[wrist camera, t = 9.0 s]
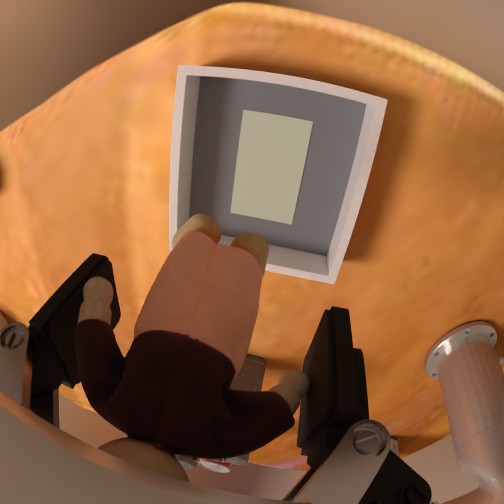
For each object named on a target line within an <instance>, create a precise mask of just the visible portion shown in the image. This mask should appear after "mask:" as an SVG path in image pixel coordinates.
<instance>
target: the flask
mask: <svg viewBox="0 0 504 504" xmlns="http://www.w3.org/2000/svg"><path fill="white" fill-rule="evenodd" d="M265 366H266V362H265V360H264V359H263V358H261V357H258V356H254V355H250V354H246V357H245V361H244V363H243V366H242V368H241V370H240V372H239V374H238V375H237V376H236V377H235V379H234V380H233V381H232V384H231V386H230V389H233V390H245V391H249V392H252V391H260V392H261V389H262V383H263V377H264V372H265ZM175 457H176V459H177V460H178V461H179V462H180V464H181V465H182V467H183V468H187V469H195V468H196V465H197V463H196V462H195V460H197V457H192V456H186V455H175ZM248 458H249V453H247V454H244V455H241V456H237V457H232V458H223V459H206V460H211V461H217V462H228V463H232V464H238V465H244V464H247V463H248ZM200 459H204V458H200Z"/></svg>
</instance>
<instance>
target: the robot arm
mask: <svg viewBox="0 0 504 504" xmlns="http://www.w3.org/2000/svg"><path fill="white" fill-rule="evenodd" d="M93 277H102V278H104V279H106V280H107V281H108V282H110V284H111V285H112V288H113V300H112V302H111V304H110V309H111V313H112V315H111V327H112V328H113V329H114V328H115V326H116V325H117V323H118V322H119V320H120V316H121V312H120V307H119V302H118V297H117V292H116V286H115V281H114V275H113V269H112V263H111V262H110V261H109V259H108V257H106V256H103V255H99V254H95V253H94V254H92V255H90V256H89V257H88V258H87V259H86V260H85V261H84V262H83V263H82V264H81V265H80V266H79V267H78V268H77V270H76V271H75V272H74V273H73V274H72V275H71V276H70V277H69V278H68V279H67V280H66V281H65V282H64V283H63V284H62V285H61V286H60V287H59V288H58V290H57V291H56V292H55V293H54V294H53V295H52V296H51V297H50V298H49V299H48V301H47V302H46V303H45V304H44V305H43V306H42V307H41V308H40V310H39V311H38V312H37V313H36V314H35V315H34V317H33V318H32V319H31V320H30V321H29V323H30V326H29V327H28V328H27V326H26V325H25V324H23V323H20V322H14V323H10V324H8V325H6V326H5V327H4V328H2V329H1V331H0V504H439V503H438V502H433V501H432V500H431V496H432V495H431V489H430V486H429V484H428V483H427V482H426V481H425V480H424V479H423V478H422V477H421V476H420V475H418V474H417V473H416V472H415V471H414V470H413V469H412V468H411V467H409V466H408V465H407V464H406V463H405V462H404V461H403V460H402V459H400V458H399V457H398V456H397V455H396V454H395V453H394V452H393V451H392V450H391V449H390V447H391V437H390V434H389V431H388V430H387V429H386V427H385V426H384V425H382V424H381V423H380V422H377V421H375V420H370V419H369V409H368V397H367V386H366V376H365V366H364V358H363V352H362V350H361V349H357V348H353V342H352V332H351V324H350V316H349V310H348V309H345V308H340V307H334V306H332V307H331V309H330V310H327V309H326V310H325V311H324V313H323V316H322V318H321V321H320V323H319V326H318V328H317V331H316V333H315V335H314V338H313V340H312V343H311V345H310V347H309V350H308V352H307V354H306V357H305V360H304V364H303V373H305V374H306V375H307V376H308V378H309V380H310V388H309V391H308V393H307V394H306V395H305V396H304V397H303V398H302V399H301V404H300V416H299V427H298V438H297V447H299V448H302V450H301V455H305V456H308V458H307V464H308V465H309V466H310V468H309V469H308V470H307V472H306V473H305V474H304V475H303V477H302V478H301V479H300V480H299V481H298V482H297V484H296V485H295V486H294V487H293V488H292V489H291V490H290V492H289V493H288V494H287V495H286V496H285V497H284V498H283V499H282V500H273V499H266V498H259V497H253V496H247V495H242V494H236V493H231V492H226V491H221V490H216V489H212V488H208V487H204V486H200V485H196V484H192V483H189V482H185V481H182V480H178V479H175V478H172V477H169V476H166V475H162V474H159V473H157V472H154V471H151V470H148V469H145V468H142V467H140V466H137V465H135V464H132V463H129V462H127V461H124V460H122V459H120V458H117V457H115V456H113V455H110V454H108V453H106V452H104V451H102V450H99V449H97V448H95V447H93V446H91V445H89V444H87V443H85V442H83V441H81V440H79V439H77V438H75V437H73V436H72V435H70V434H68V433H66V432H64V431H62V430H61V429H60V427H59V386H60V385H61V383H62V384H64V385H66V386H68V387H70V388H72V389H73V388H74V386H75V385H76V384H78V383H80V382H81V380H80V376H79V371H78V365H77V358H76V348H75V339H74V330H75V327H76V326H77V324H78V318H79V311H80V307H81V304H82V303H83V302H84V297H83V289H84V286H85V284H86V283H87V281H88V280H89V279H91V278H93ZM496 342H497V333H496V331H495V329H494V327H493V326H492V325H491V324H490V323H488V322H484V321H475V322H470V323H467V324H464V325H461V326H459V327H457V328H455V329H453V330H452V331H450V332H449V333H447V334H446V335H444V336H443V337H442V338H441V339H440V340H439V341H438V342H437V343H436V344H435V345H434V346H433V347H432V348H431V350H430V351H429V353H428V355H427V357H426V360H425V368H426V372H427V374H428V376H429V377H431V378H433V379H435V380H439V382H440V386H441V390H442V394H443V398H444V402H445V406H446V410H447V415H448V420H449V424H450V429H451V435H452V439H453V446H454V452H455V458H456V463H457V466H458V468H459V469H460V471H461V472H462V473H463V474H465V475H466V476H468V477H470V478H472V479H473V480H475V481H477V482H478V483H479V485H480V486H479V487H478V488H477V489H476V490H474V491H471V492H469V493H468V494H465V495H463V496H461V497H458V498H455V499H453V500H450V501H447V502H445V503H441V504H504V374H503V371H502V367H501V365H500V364H504V356H498V355H497V352H496V350H495V345H496Z"/></svg>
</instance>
